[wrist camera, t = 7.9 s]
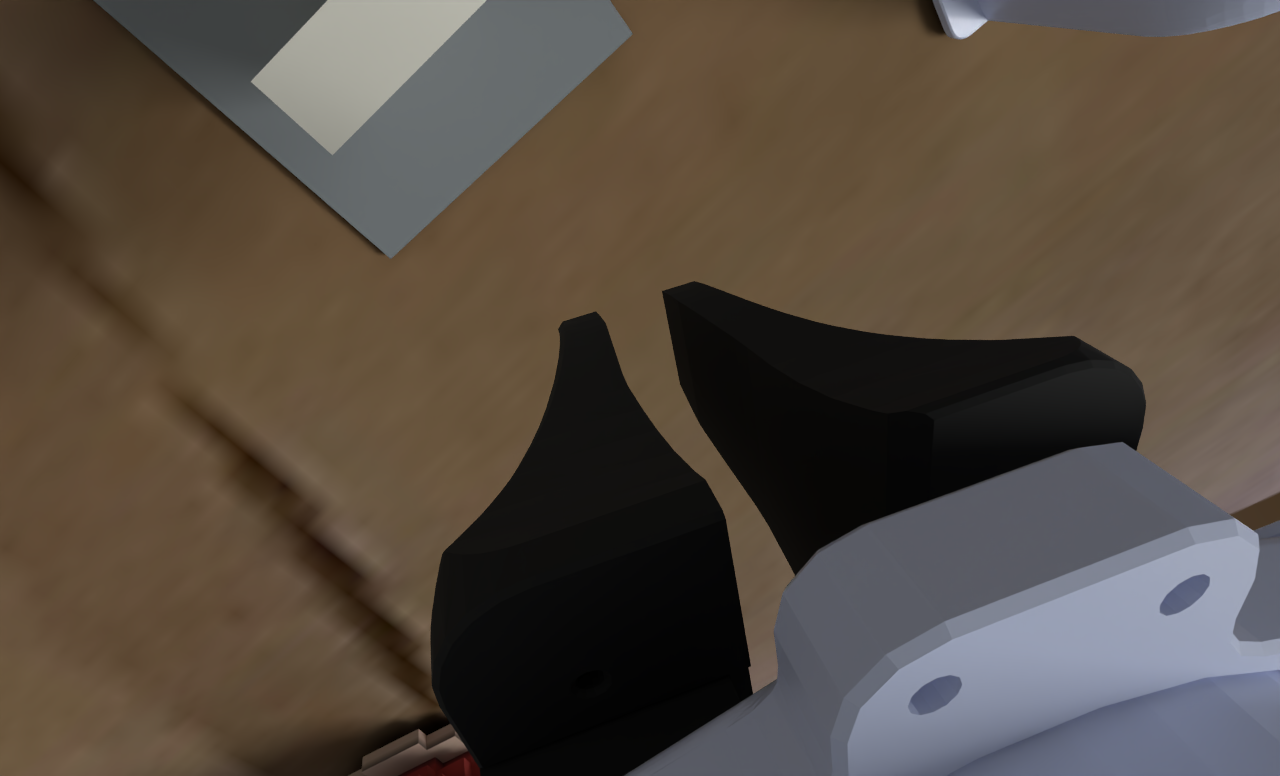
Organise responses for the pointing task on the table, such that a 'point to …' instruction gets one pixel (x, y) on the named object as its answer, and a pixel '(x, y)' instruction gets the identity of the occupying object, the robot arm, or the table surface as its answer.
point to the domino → (356, 60)
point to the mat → (411, 118)
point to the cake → (421, 756)
